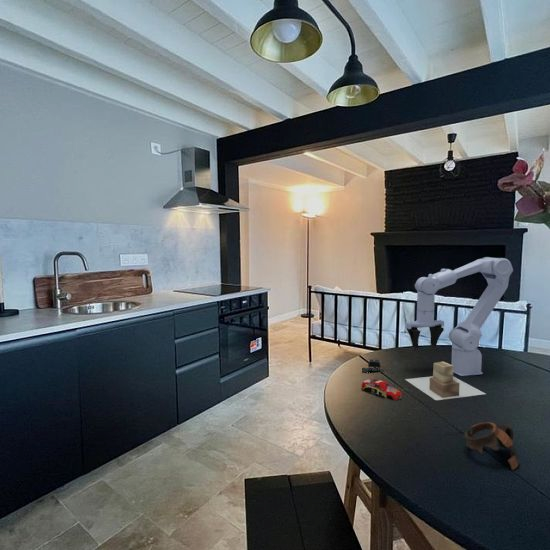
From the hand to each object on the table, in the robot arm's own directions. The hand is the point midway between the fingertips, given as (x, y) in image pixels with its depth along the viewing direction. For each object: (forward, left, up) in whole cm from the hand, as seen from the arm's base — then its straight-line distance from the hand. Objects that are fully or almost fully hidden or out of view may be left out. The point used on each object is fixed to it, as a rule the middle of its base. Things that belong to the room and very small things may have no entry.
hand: (424, 346), depth 123 cm
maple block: (+5, +16, -5) cm, 18 cm away
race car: (+24, +12, -10) cm, 29 cm away
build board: (+2, +13, -10) cm, 16 cm away
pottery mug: (+15, +46, -10) cm, 49 cm away
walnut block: (+5, +17, -9) cm, 20 cm away
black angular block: (+17, -6, -11) cm, 21 cm away
